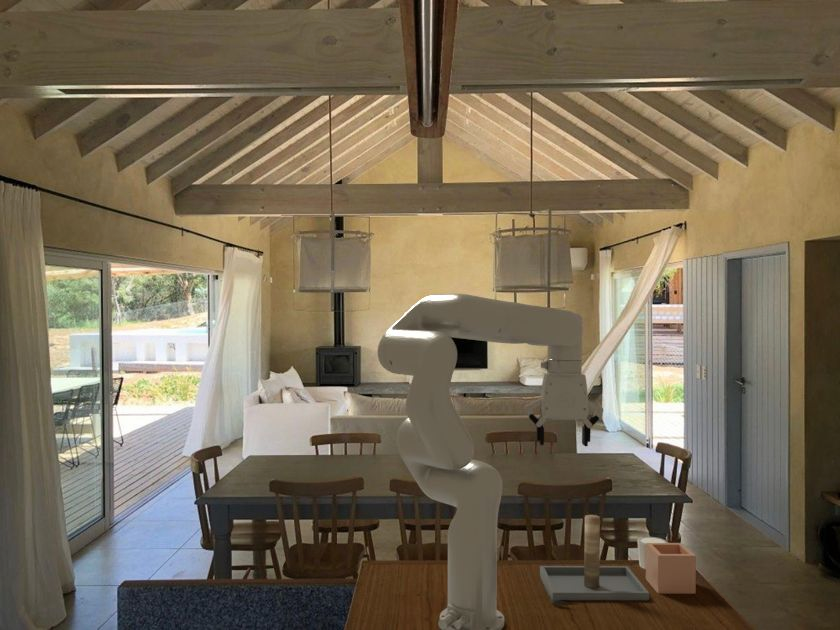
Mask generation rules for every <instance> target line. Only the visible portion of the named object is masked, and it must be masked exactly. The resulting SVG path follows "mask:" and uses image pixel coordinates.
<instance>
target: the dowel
mask: <svg viewBox="0 0 840 630" xmlns="http://www.w3.org/2000/svg"><path fill="white" fill-rule="evenodd" d="M600 521H601V517H600V516H599V515H597V514H586V515H584V547H583V549H584V555H583V556H584V559H583V560H584V561H583V562H584V563H583V564H584V565H583V566H584V586H585V587H587V588H592V589H595V588H599V566H600V560H601V559H600V558H601V557H600V552H601V551H600V549H601V547H600V546H601V545H600V544H601V543H600V541H601V540H600V539H601V538H600V537H601V532H600V530H601V526H600V525H601V522H600Z"/></svg>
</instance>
